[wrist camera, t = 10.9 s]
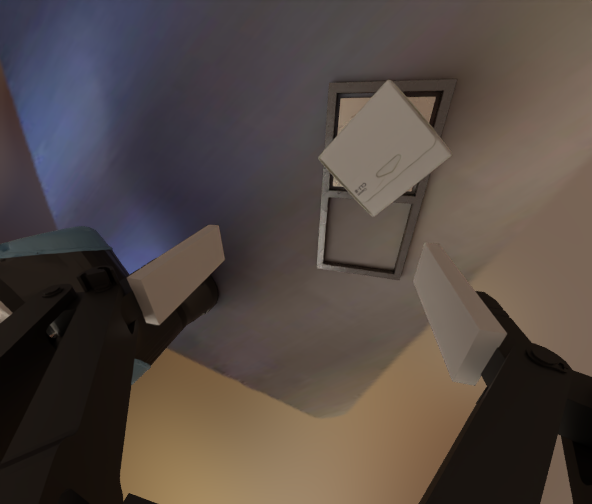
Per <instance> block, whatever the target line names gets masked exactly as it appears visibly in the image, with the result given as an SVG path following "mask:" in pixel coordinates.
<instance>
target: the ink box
mask: <svg viewBox="0 0 592 504" xmlns="http://www.w3.org/2000/svg"><path fill="white" fill-rule="evenodd" d="M451 156H452V152H451V151H450V149H449V148H448V147H447V145H446V144H445V143H444V141H443V140H442V139H441V138H440V136H439V135H438V134H437V133H436V131H435V130H434V129H433V127H432V126H431V125H430V124H429V123H428V121H427V120H426V119H425V118H424V116H423V115H422V114H421V113H420V112H419V110H418V109H417V108H416V107H415V106H414V105H413V103H412V102H411V101H410V100H409V99H408V98H407V97H406V95H405V94H404V93H403V92H402V91H401V90H400V89H399V88H398V87H397V86H396V85H395V84H394V83H393V82H392V81H391V80H387V81H386V82H385V83H384V84H383V85H382V86H381V87H380V89H379V90H378V91H377V92H376V93H375V94H374V95H373V96H372V97H371V98H370V100H369V101H368V102H367V103H366V104H365V105H364V106H363V107H362V108H361V109H360V111H359V112H358V113H357V114H356V115H355V116H354V117H353V118H352V120H351V121H350V122H349V123H348V124H347V125H346V126H345V127H344V129H343V130H342V131H341V132H340V133H339V134H338V135H337V136H336V138H335V139H334V140H333V141H332V142H331V143H330V144H329V145H328V147H327V148H326V149H325V150H324V151H323V152H322V154H321V155H320V156H319V157H318V159H319V161H320V162H321V163H322V164H323V165H324V167H325V168H326V169H327V170H328V171H329V172H330V173H331V174H332V176H333V177H334V178H335V179H336V180H337V181H338V182H339V183H340V184H341V185H342V186H343V187H344V188H345V189H346V190H347V191H348V192H349V193H350V194H351V196H352V197H353V198H354V199H355V200H356V201H357V202H358V203H359V204H360V205H361V206H362V207H363V208H364V209H365V210H366V211H367V212H368V213H369V214H370V215H371V216H372V217H374V216H376V215H377V214H378V213H380V212H381V211H382V210H383V209H385V208H386V207H387V206H389V205H390V204H391V203H392V202H394V201H395V200H396V199H397V198H399V197H400V196H401V195H403V194H404V193H405V192H406V191H408V190H409V189H410V188H412V187H413V186H414V185H415V184H417V183H418V182H419V181H420V180H422V179H423V178H424V177H426V176H427V175H428V174H429V173H431V172H432V171H433V170H435V169H436V168H437V167H438V166H440V165H441V164H442V163H443V162H445V161H446V160H447V159H448V158H450V157H451Z"/></svg>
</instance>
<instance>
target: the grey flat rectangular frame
mask: <svg viewBox="0 0 592 504" xmlns="http://www.w3.org/2000/svg"><path fill="white" fill-rule="evenodd" d="M385 82H386V81H375V82H342V83H329V91H328V107H327V122H326V137H325V149H326V148H327V147H328V145H329V144H330V143H331V142H332V141H333V139H334V127H335V115H336V103H337V94H350V93H376V92H377V91H378V90H379V89H380V87H381V86H382V85H383V84H384V83H385ZM392 82H393V83H394V84H395V85H396V86H397V87H398V88H399V89H400V90H401V91H402V92H441V96H440V99H439V103H438V107H437V111H436V114H435V118H434V122H433V126H432V127H433V129H434V130H435V131H436V133H437V134H438V135H439V136H440V138H441V134H442V131H443V127H444V124H445V120H446V117H447V113H448V110H449V107H450V103H451V100H452V96H453V93H454V89H455V86H456V82H457V79H441V80H408V81H392ZM407 98H408V99H409V100H410V101H411V102H412V103H413V105H414V106H415V107H416V108H417V109H418V110H419V112H420V113H421V114H422V115H423V116H424V118H425V119H426V120H427V121H428V123H429V122H430V118H431V114H432V110H433V106H434V102H435V98H436V97H407ZM369 100H370V98H341V100H340V111H339V123H338V134H339V133H340V132H341V131H342V130H343V129H344V127H345V126H346V125H347V124H348V123H349V122H350V121H351V120H352V118H353V117H354V116H355V115H356V114H357V113H358V112H359V111H360V109H361V108H362V107H363V106H364V105H365V104H366V103H367V102H368V101H369ZM338 134H337V135H338ZM330 176H331V173H330V172H329V171H328V170H327V169H326V168H325V167H323V182H322V197H321V212H320V227H319V242H318V257H317V268H319V269H326V270H333V271H340V272H347V273H353V274H360V275H367V276H374V277H380V278H387V279H394V280H400V276H401V273H402V269H403V266H404V263H405V259H406V256H407V252H408V249H409V245H410V242H411V238H412V235H413V231H414V228H415V224H416V221H417V217H418V214H419V211H420V207H421V204H422V200H423V197H424V193H425V190H426V186H427V183H428V179H429V176H430V173H429V174H428V175H427V176H426V177H424V178H423V179H422V180H420V181H419V182H418V183H417V186H416V189H415V193H414V195H408V194H403V195H401V196H400V197H399V198H397V199H396V200H395V201H394V202H396V203H409V204H411V208H410V212H409V216H408V219H407V223H406V227H405V231H404V234H403V238H402V242H401V246H400V249H399V253H398V257H397V261H396V264H395V268H394V271H389V270H381V269H374V268H367V267H360V266H353V265H346V264H339V263H332V262H324V249H325V237H326V225H327V213H328V200H329V197H333V198H345V199H354V198H353V197H352V196H351V194H350V193H349V192H348V191H347V190H337V189H329V188H330ZM333 186H338V187H343V186H342V185H341V184H340V183H339V182H338V181H337V180H336V179H335V178H334V179H333ZM408 191H412V188H410V189H409V190H408Z"/></svg>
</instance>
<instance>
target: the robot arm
mask: <svg viewBox="0 0 592 504" xmlns="http://www.w3.org/2000/svg"><path fill="white" fill-rule="evenodd" d="M112 250H113V249H112V247H110V246H109V245H108V244H107V243H106V242H105V241H104V239H103V238H102V237H101V236H100V235H99V233H98V232H97V231H96V230H94V229H92V228H90V227H85V226H78V227H72V228H66V229H61V230H57V231H52V232H47V233H43V234H38V235H34V236H30V237H26V238H21V239H18V240H14V241H10V242H6V243H3V244H0V504H157V503H154V502H151V501H149V500H146V499H143V498H141V497H138V496H136V495H133V494H130V493H129V494H128V495H127V497H126V499H125V500H124V502H123V494H122V489H121V485H120V469H121V461H122V453H123V445H124V437H125V430H126V422H127V414H128V406H129V398H130V391H131V385H132V384H133V383H135V381H137V379H139V377H141V376H142V375H143V374H144V373H145V372H146V371H147V370H148V369H150V367H151V365H152V364H153V363H154V361H155V360H156V359H157V358H158V357H159V356H160V355H161V354H162V352H163V351H164V350H165V349H166V348H167V347H168V346H169V344H170V343H171V342H172V341H173V340H174V339H175V338H176V336H177V335H178V334H179V333H180V332H181V331H182V330H183V329H184V327H185V326H186V325H188V324H189V323H191V322H192V321H194V320H196V319H197V318H198V317H200V316H202V315H204V314H206V313H207V312H209V311H210V310H211V308H212V307H213V306H214V305H215V304H216V302H217V299H218V290H217V287H216V284H215V282H214V280H213V279H212V277H211V276H210V274H211V273H212V272H213V271H214V270H215V269H216V268H217V267H218V266H219V265H220V264H221V263H222V262H223V261H224V260H225V257H224V252H223V246H222V241H221V235H220V230H219V225H207V226H206V227H204V228H203V229H201V230H200V231H198V232H197V233H195V234H194V235H192V236H190V237H189V238H187V239H186V240H184V241H183V242H181V243H180V244H178V245H176V246H175V247H173V248H172V249H170V250H169V251H167V252H166V253H164V254H163V255H161V256H159V257H158V258H155V259H153V260H152V261H150V262H149V263H147V265H144V266H143V267H141V269H138V270H136V271H135V272H133V273H132V274H130V275H129V273H128V272H127V270H126V269H125V268H124V266H123V265H122V264H121V262H120V261H119V259H118V258H117V256H116V255H115V254H114V252H113V251H112ZM413 283H414V285H415V288H416V290H417V293H418V295H419V298H420V300H421V303H422V305H423V308H424V310H425V313H426V316H427V318H428V321H429V323H430V326H431V328H432V331H433V333H434V336H435V338H436V341H437V343H438V346H439V349H440V351H441V353H442V356H443V358H444V361H445V364H446V366H447V369H448V371H449V374H450V376H451V379H452V381H454V382H459V383H464V384H469V385H474V386H475V385H476V383H477V382H478V380H479V379H480V377H481V376H482V377H483V379H484V381H485V383H486V385H487V387H486V389H485V390H484V392H483V393H482V395H481V396H480V398H479V399H478V401H477V402H476V406H475V407H474V409H473V411H472V413H471V414H470V416H469V418H468V419H467V421H466V423H465V425H464V427H463V428H462V430H461V432H460V433H459V435H458V437H457V438H456V440H455V442H454V444H453V445H452V447H451V449H450V451H449V452H448V454H447V456H446V457H445V459H444V461H443V463H442V465H441V466H440V468H439V469H438V471H437V473H436V475H435V476H434V478H433V480H432V482H431V483H430V485H429V487H428V488H427V490H426V492H425V494H424V495H423V497H422V499H421V501H420V502H419V504H540V502H541V498H542V494H543V490H544V486H545V482H546V478H547V475H548V471H549V467H550V463H551V459H552V455H553V451H554V447H555V443H556V439H557V435H558V434H559V435H561V439H562V444H563V450H564V455H565V460H566V466H567V471H568V477H569V482H570V488H571V493H572V499H573V504H592V377H590V376H588V375H585V374H582V373H579V372H576V371H573V370H572V369H571V367H570V366H569V365H568V364H567V362H566V361H564V360H563V359H562V358H561V357H560V356H558V355H557V354H555V353H554V352H552V351H550V350H548V349H547V348H545V347H542V346H539V345H537V344H534V343H531V341H530V340H529V339H528V338H527V337H526V336H525V334H524V333H523V332H522V331H521V330H520V329H519V327H518V326H517V325H516V324H515V322H514V321H513V320H512V319H511V318H509V315H508V314H507V313H506V312H505V311H504V310H503V308H502V307H501V306H500V305H499V303H498V302H497V301H496V300H495V299H493V298H492V297H490V296H489V295H488V294H486V293H485V292H478V291H475V290H474V289H473V288H472V286H471V285H470V284H469V283H468V281H467V280H466V279H465V277H464V276H463V275H462V273H461V272H460V271H459V269H458V268H457V267H456V265H455V264H454V263H453V261H452V260H451V259H450V257H449V256H448V255H447V254H446V252H445V251H444V250H443V248H442V247H441V246H440V244H436V243H424V246H423V249H422V253H421V256H420V260H419V263H418V266H417V270H416V273H415V277H414V280H413ZM51 334H54V336H53V337H52V338H51V337H50V335H51Z"/></svg>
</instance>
